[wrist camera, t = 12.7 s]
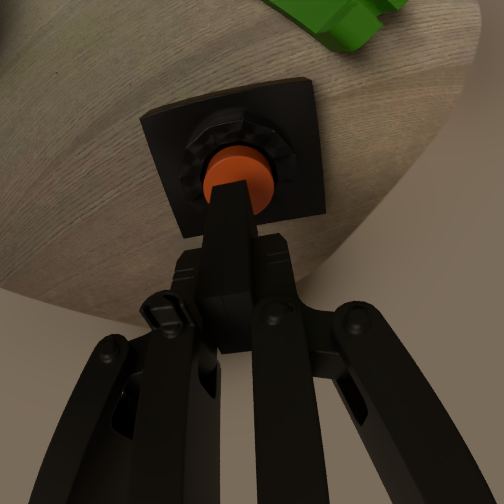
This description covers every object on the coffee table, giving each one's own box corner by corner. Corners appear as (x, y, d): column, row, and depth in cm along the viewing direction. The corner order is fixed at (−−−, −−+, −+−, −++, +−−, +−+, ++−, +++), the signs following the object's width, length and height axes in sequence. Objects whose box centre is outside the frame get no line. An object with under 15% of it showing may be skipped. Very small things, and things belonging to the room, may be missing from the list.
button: (265, 139, 15) (267, 149, 13) (275, 196, 17) (278, 212, 16) (199, 152, 15) (194, 164, 14) (215, 208, 17) (213, 224, 16)
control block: (304, 76, 16) (319, 83, 12) (319, 198, 21) (332, 229, 18) (149, 110, 17) (128, 126, 13) (188, 221, 22) (179, 255, 19)
